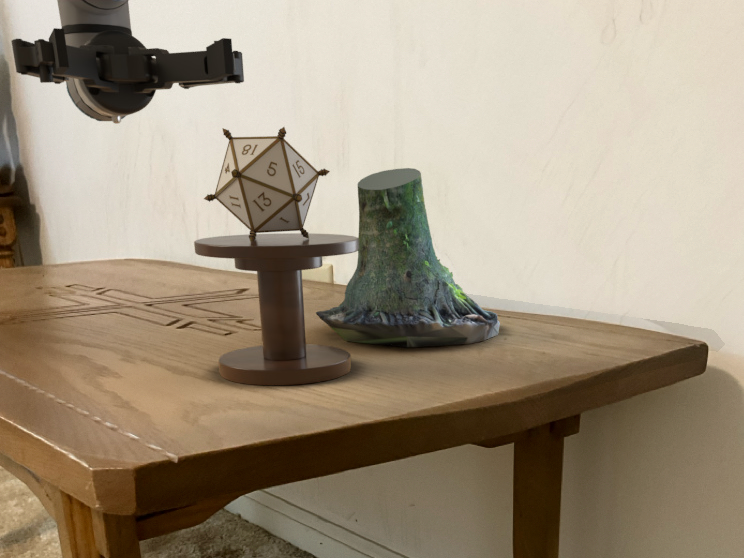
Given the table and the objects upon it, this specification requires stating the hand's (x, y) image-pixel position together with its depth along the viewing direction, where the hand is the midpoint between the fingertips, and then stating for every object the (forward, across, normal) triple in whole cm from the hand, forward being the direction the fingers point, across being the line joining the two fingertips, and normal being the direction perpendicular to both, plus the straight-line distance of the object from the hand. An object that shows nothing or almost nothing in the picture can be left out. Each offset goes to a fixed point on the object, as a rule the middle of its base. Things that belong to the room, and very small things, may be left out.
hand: (148, 52), depth 71 cm
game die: (+14, -6, -14) cm, 21 cm away
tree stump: (+3, -23, -25) cm, 34 cm away
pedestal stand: (+14, -6, -25) cm, 29 cm away
